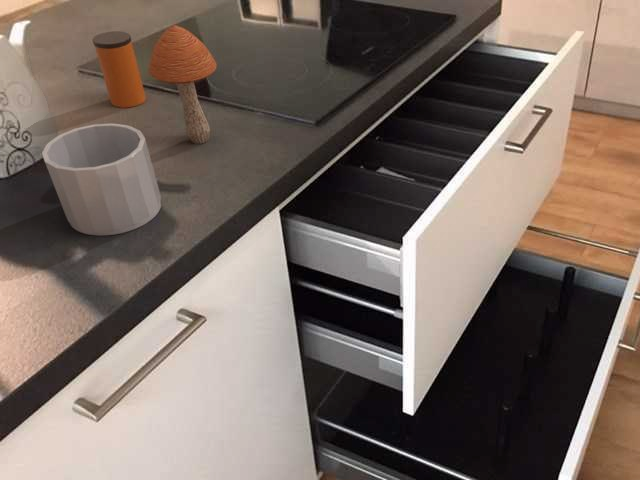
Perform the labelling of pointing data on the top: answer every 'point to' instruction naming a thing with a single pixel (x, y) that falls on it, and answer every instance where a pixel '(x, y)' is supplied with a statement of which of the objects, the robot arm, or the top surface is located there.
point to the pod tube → (119, 68)
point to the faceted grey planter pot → (103, 178)
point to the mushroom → (184, 74)
